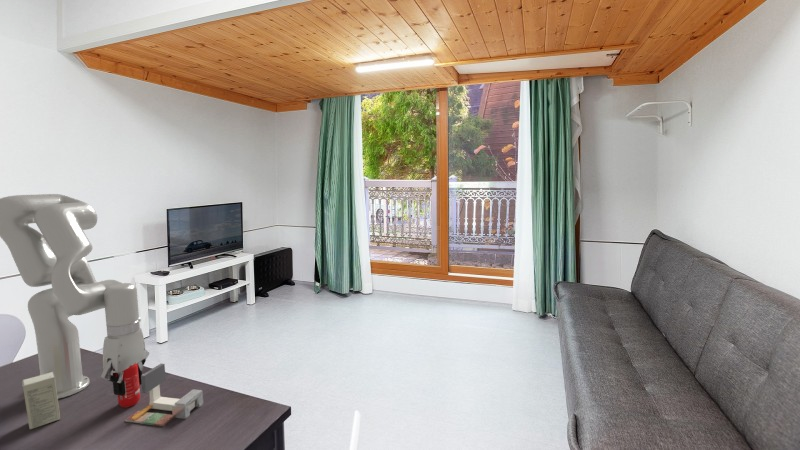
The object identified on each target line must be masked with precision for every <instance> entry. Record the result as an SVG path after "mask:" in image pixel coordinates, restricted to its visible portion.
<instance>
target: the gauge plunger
mask: <svg viewBox="0 0 800 450" xmlns="http://www.w3.org/2000/svg"><path fill="white" fill-rule="evenodd" d="M166 380H167V379H166V367H165V363H159V364H158V365H156V366H154V367H152V368H151V369H149V370H148V371H146V372H145V373H142V375H141V383H142V384H141V394H142V393H143V394H148V393H149V394H148V395H149V402H148V403H149V404H148V405H147V406H145V407H144V408H142V409H141V410H139V411H140V412H138V413H137V414H136V415H134V416H133V417H131V419H132V420H135V419H136V418H138V417H139V416H141V415H142V414H143V413H145V412H148V411H149V410H151V409H153V410H162V411H170V412H172V406H173V405H174V404H175V402H177V401H178V400H179V399H180V398H176V397H175V398H174V397H165V396H161V388H160V387H161V386H160V385H161V384H163V383H164V382H165V381H166ZM189 408H190V412H191V411H192V410H193V409H194V408H196V407H195V401H193V402H191V403H190V404H189Z"/></svg>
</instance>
